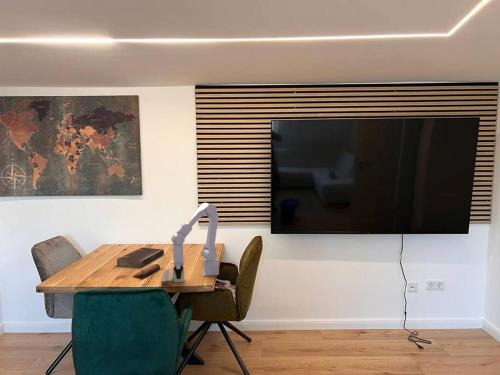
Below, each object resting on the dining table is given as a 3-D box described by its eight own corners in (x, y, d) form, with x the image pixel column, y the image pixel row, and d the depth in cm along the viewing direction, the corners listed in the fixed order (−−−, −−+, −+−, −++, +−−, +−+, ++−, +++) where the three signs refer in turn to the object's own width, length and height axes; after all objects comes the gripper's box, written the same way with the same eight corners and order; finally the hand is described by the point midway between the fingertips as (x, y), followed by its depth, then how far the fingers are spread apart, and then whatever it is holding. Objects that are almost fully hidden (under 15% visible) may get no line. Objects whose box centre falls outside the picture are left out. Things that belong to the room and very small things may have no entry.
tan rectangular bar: (173, 272, 192) (173, 268, 192) (172, 284, 172) (172, 280, 172) (163, 273, 190) (163, 269, 190) (161, 285, 171) (161, 281, 171)
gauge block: (184, 278, 182) (183, 266, 181) (184, 281, 177) (183, 269, 176) (172, 279, 180) (172, 267, 180) (172, 282, 176) (172, 270, 175)
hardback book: (141, 268, 201) (141, 261, 200) (117, 266, 205) (116, 258, 205) (164, 255, 229) (164, 249, 229) (142, 253, 233) (141, 247, 233)
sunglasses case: (149, 267, 201) (153, 259, 199) (157, 273, 199) (161, 265, 198) (131, 277, 183) (135, 268, 182) (139, 284, 182) (144, 275, 180)
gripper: (171, 251, 184) (172, 273, 185) (170, 258, 170) (171, 282, 171) (183, 250, 185) (184, 272, 186) (183, 257, 171) (184, 281, 172)
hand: (178, 276), depth 179 cm, fingers open, 5 cm apart
